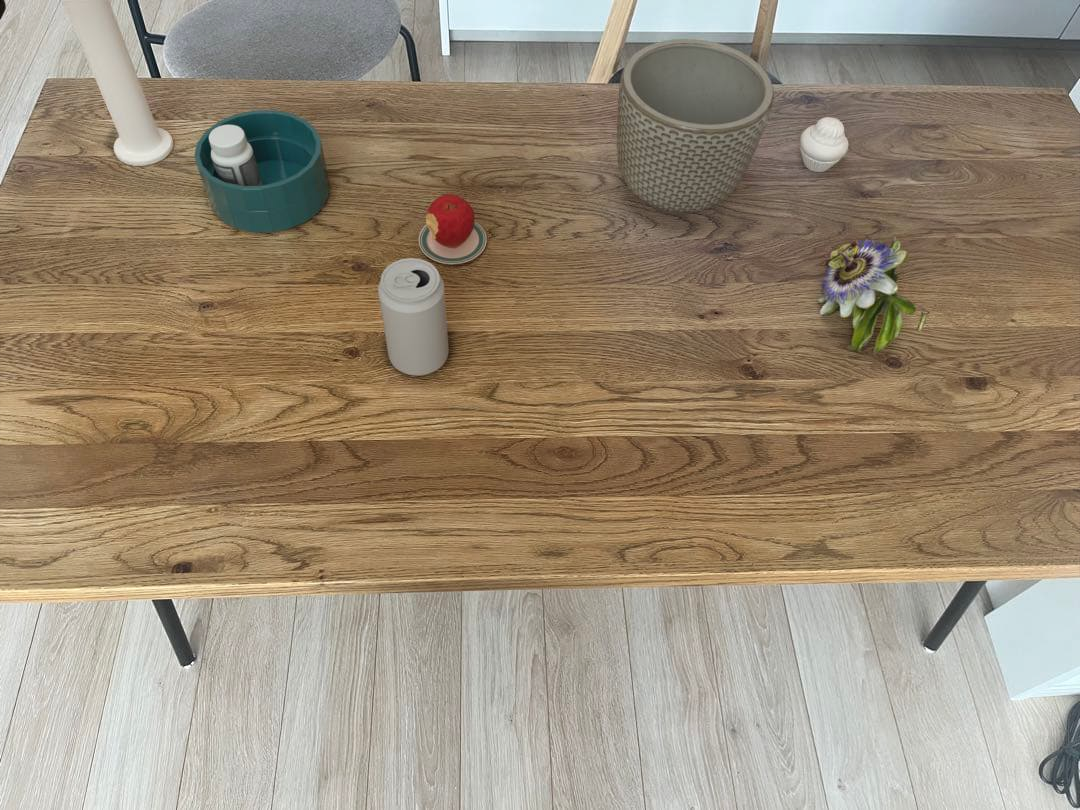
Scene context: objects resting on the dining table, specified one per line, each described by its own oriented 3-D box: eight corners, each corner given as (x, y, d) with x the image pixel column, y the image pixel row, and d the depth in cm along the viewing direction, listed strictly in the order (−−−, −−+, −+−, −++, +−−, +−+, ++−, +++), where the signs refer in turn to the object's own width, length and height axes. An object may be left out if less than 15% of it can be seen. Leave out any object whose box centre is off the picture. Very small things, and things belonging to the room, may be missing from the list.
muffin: (847, 164, 115) (866, 119, 109) (824, 186, 112) (842, 142, 106) (807, 143, 117) (824, 98, 111) (783, 164, 114) (799, 119, 108)
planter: (690, 262, 103) (719, 152, 90) (577, 194, 109) (589, 81, 96) (767, 191, 111) (804, 81, 98) (658, 131, 117) (679, 20, 104)
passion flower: (810, 334, 104) (814, 233, 101) (906, 332, 103) (914, 229, 99) (824, 360, 94) (829, 249, 90) (931, 359, 92) (941, 245, 88)
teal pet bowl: (203, 236, 102) (186, 190, 96) (219, 157, 110) (204, 110, 104) (326, 234, 103) (316, 188, 97) (333, 156, 111) (324, 109, 105)
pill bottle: (258, 175, 107) (242, 118, 101) (268, 199, 105) (252, 142, 98) (219, 185, 106) (200, 127, 99) (228, 209, 104) (210, 152, 97)
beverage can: (454, 373, 92) (450, 296, 82) (394, 385, 90) (383, 308, 81) (441, 328, 95) (435, 249, 85) (383, 339, 94) (371, 260, 84)
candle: (114, 169, 108) (26, -29, 87) (116, 133, 111) (32, -64, 91) (173, 163, 109) (100, -35, 88) (173, 127, 113) (103, -69, 92)
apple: (470, 274, 100) (469, 233, 95) (407, 255, 101) (403, 213, 96) (496, 230, 104) (496, 187, 99) (435, 212, 106) (432, 169, 100)
